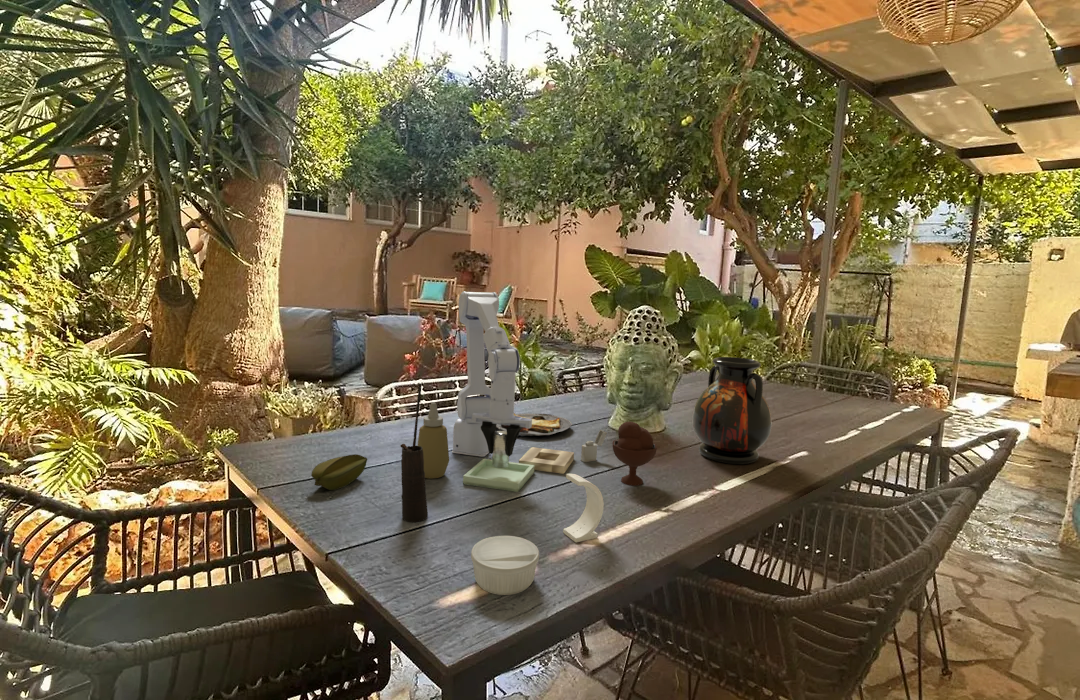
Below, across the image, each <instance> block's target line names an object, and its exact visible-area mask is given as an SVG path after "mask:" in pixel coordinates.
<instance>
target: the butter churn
mask: <svg viewBox="0 0 1080 700" xmlns="http://www.w3.org/2000/svg"><path fill="white" fill-rule="evenodd" d="M421 393H422V383H419V384H418V393H417V401H416V402H417V403H416V410H415V411H416V412H415V422H414V430H413V441H412V446H411V445H408V446H407V445H406V444H405V443H402V444H400V445H399V446H400V448H401V461H400V463H401V467H400V468H401V469H400V470H401V516H402V518H403V520H404V521H405V522H408V523H417V522H422V521H425V520H426V519H427V518H428V516H429V513H428V502H427V500H428V499H427V490H426V489H427V488H426V487H427V486H426V478H425V472H424V458H423V457H424V455H423V448H422V447H421V446H418V445H416V444H417V434H418V425H419V424H418V423H419V422H418V421H419V412H420V404H421V403H420V402H421V395H422V394H421Z"/></svg>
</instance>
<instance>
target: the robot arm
mask: <svg viewBox="0 0 1080 700" xmlns="http://www.w3.org/2000/svg"><path fill="white" fill-rule="evenodd" d="M499 309H500V298H499V296H498V293H497V292H496V291H493V292H482V291H481V292H480V291H478V292H477V291H476V292H475V291H462V292H461V293H460V294H459V298H458V319H459V323H461V324H463V325H464V327H465V331H466V332H465V333H466V335H465V336H466V337H465V338H466V357H467V358H466V363H467V364H466V366H467V384H466V386H464V387H463V388H462V389H461V390H460V391H459V392H458V394H457V405H456V412H457V417H458V418H457V419H456V420H455V422H454V425H453V430H452V431H453V432H452V435H453V437H452V451H451V453H453V454H461V455H465V456H466V455H467V456H474V457H483V458H484V457H486V456H487V455H488V454H489V455H490V454H493V432H496V431H497V428H496V425H497V424H500V425H509V426H510V427H508V428H507V431H506V432H507V441H508V444H507V456H509V457H510V456H512V455H513V451H514V448H515V444H516V442H517V439H518V437H519V436H520V435H519V433H520V431H521V429H522V427H525V428H528V429H529V428H531V427H532V419H528V418H523V417H519V416H514V413H515V397H516V396H515V390H516V373H518V371H519V369H520V365H521V358H520V353H519V350H518V349H517V348H516V347H515V346H512V345H511V343H510V340H509V338H508V335H507V333H506V330H505V329H504V328H503V327H501V326H500V324H499V321H498V317H497V314H498V311H499ZM485 347H486V350H487V353H488V358H487V359H488V360H487V363H488V364H487V365H488V371H489V372H488V373H489V377H488V378H489V379H490V387H489V386H488V385H487V384H486V365H485V363H486V362H485ZM480 395H481V396H480Z"/></svg>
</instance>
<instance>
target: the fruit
mask: <svg viewBox="0 0 1080 700" xmlns="http://www.w3.org/2000/svg"><path fill="white" fill-rule="evenodd" d="M367 463H368V458H367V457H366V456H363V455H361V454H356V453H355V454H349V455H343V456H338V457H334V458H330V459H328V460H326V461H322V462H320V463H318V464H317V465H316V466H314V467H313V469H312V470H311V477H312V478H313V479H314V486H318V487H323V488H324V489H327V490H329V491H336V490H338V489H341V488H344V487H347V486H348V485H350V484H352V483H353V482H354V481H356V480H357V478H359V477H360V476H361V475H362V473H364V471H365V468H366V466H367Z"/></svg>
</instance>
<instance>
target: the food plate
mask: <svg viewBox="0 0 1080 700" xmlns="http://www.w3.org/2000/svg"><path fill="white" fill-rule="evenodd" d="M514 416H519V417H523V418H528V419H532V427H531V428H529V429H528V428H525V427H522V429H521V431H520V433H519V435H518V436H520V437H527V436H528V437H532V436H533V437H534V436H536V437H537V436H538V437H540V436H550V435H553V434H556V433H559V432H564V431H566V430H568V429H569V428H570V427H571V426H572V425H573V423H572V422H571V421H570V420H569V419H567V418H565V417H563V416H557V415H553V414H550V413H549V414H548V413H531V412H530V413H529V412H528V413H515V412H514ZM508 427H510V426H509V425H500V424H497V425H496V429H497V430H498V431H506V432H507V428H508Z"/></svg>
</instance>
